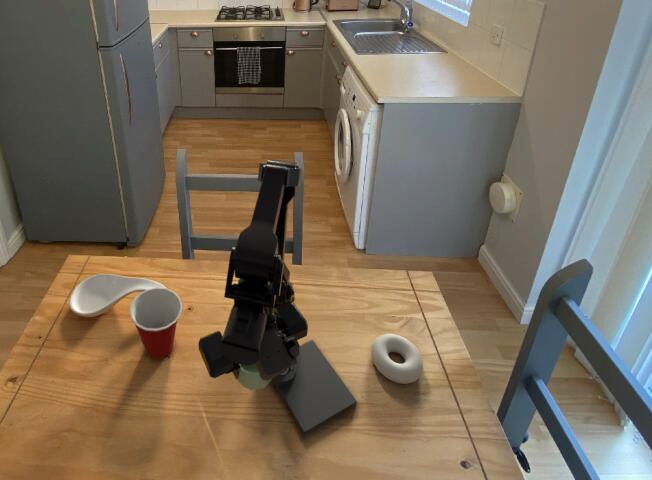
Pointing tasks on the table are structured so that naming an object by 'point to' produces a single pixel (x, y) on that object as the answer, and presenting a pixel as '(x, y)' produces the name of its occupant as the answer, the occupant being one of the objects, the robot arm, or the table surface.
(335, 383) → the scale
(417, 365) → the donut
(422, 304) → the table surface
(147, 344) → the plastic cup
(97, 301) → the spoon rest
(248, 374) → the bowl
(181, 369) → the table surface
